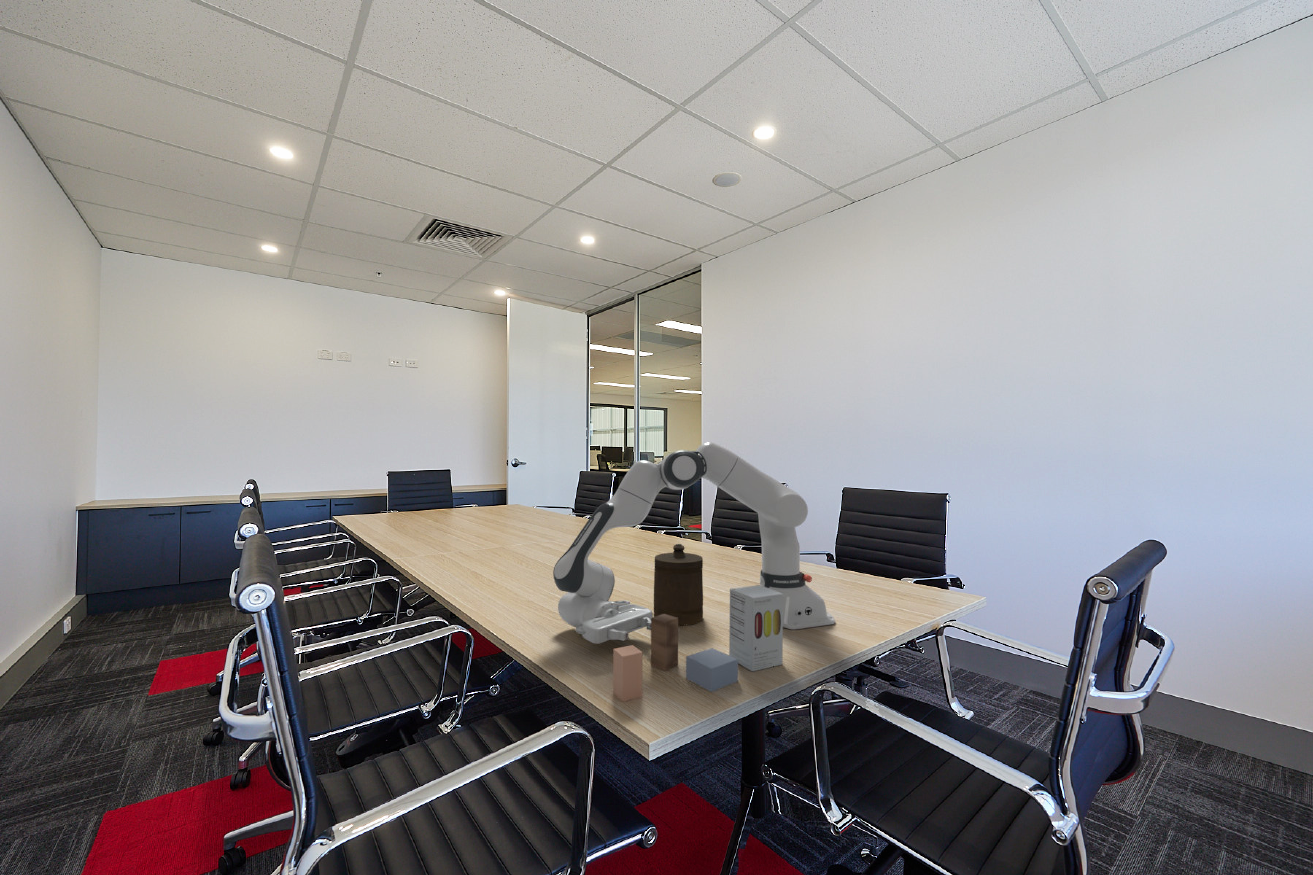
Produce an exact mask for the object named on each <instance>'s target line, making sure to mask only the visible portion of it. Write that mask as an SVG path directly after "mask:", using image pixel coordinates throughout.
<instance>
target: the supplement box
mask: <svg viewBox="0 0 1313 875" xmlns="http://www.w3.org/2000/svg"><path fill="white" fill-rule="evenodd" d="M783 628H784V627H783V594H782V593H780V592H778V591H775V590H772V589H769V588H766V587H764V586H761V585H760V584H756V585H750V586H743V587H735V588H730V589H729V637H728V638H729V639H728V640H729V646H728V648H729V649H728V650H729V651H728V653H729V654H728V655H729V656H732V657H734V658H736V659H738V665H741V666H743V668H745V669H747V670H749V671H750V672H757V671H761V670H764V669H768V668H774V667H778V666H782V665H783V662H784V661H783V655H784V653H783V651H784V650H783V643H784V641H783V639H784V636H783V635H784V633H783V632H784V629H783ZM773 666H774V667H773Z"/></svg>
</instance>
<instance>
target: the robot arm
mask: <svg viewBox="0 0 1313 875" xmlns="http://www.w3.org/2000/svg"><path fill="white" fill-rule="evenodd" d="M700 479H703V480H704V479H705V480H707V481H709V482H711V483H712V484H713V485H714V486H716V487H717V488H718V489H721V490H722V491H723V492H725V493H726V494H728V495H729V496H731V497H733V498H734V499H736V501H739V502H740V503H741V504H743V505H745V506H746V507H747V508H749V509H751V510H753V511H754V512H756V513H757V515H758V516H757V517H758V518H757V519H758V526H759V534H760V539H761V540H760V541H761V569H760V576H759V585H761V586H764V587H766V588H769V589H772V590H775V591H778V592H780V593H782V594H783V628H786V629H789V630H799V629H808V628H814V627H822V626H830V625H834V624H835V623H836V622H835V618H834V616H833V615H832V614H830V613H829V612H827V607H826V606H827V605H826V603H825V601H824V598H822V596H820V594H818V593H817V592H816V591H815V590H813V589H812V588H810V586H808V585H807V584H806V582H807V583H811V582H812V581H813V576H811V575H810V574H808V573H807V574H806V573H803V572H802V571H801V568H800V567H801V565H800V563H801V562H800V561H801V560H800V558H801V557H800V556H801V554H800V553H801V552H800V551H801V550H800V549H801V548H800V543H799V540H798V536H797V531H796V528H797V527H799V526H800V525H802V524H803V523H804V522H805V521H806V519H807V517H808V512H809V510H808V509H809V508H808V505H807V502H806V501H805V499H804V498H803V497H802V496H801V495H800V494H799V493H797V492H796V491H794V490H793V489H791V488H789V487H788V486H787V485H785V484H784V483H781V482H780V481H778V480H776V479H775V478H773V477H771V475H770V476H769V475H768V474H766V473H764V471H761V470H759V469H758V468H757V467H755V466H754V465H753V464H750V463H749V462H748V461H746V460H745V459H743V458H741V456H738V454H736V453H734V452H732V451H730V450H729V449H727V448H726V447H723V446H721V445H719V444H717V443H715V442H711V441H708V442H704V443H702V444H700V445H699V446H697V448H696V450H695V451H694V450H684V449H680V450H676V451H673V452H671V453H669V454H668V455H666V456H665V457H664V458H663V459H661V461H659V462H658V463H654V462H652V461H650V460H637V461H636V462H634V463H633V464H632V465H631V467H630V468H629V470H627V472H626V474H625V475H624V477H623V478H622V480H621V482H620V484H619V486H618V488H617V489H616V491H615V493H614V494H613V496H612V497H611V498H610V499H609V500H608V501H607V502H604V503H602V504H600V505H599V506H597V508H596V509H595V511H594V512H593V513H592V514H591V516H590V517H589V519H588V520H587V521H586V523H585V524H584V526H583V528H581V530H580V531H579V533H578V535H577V536H576V538H575V539H574V541H573V542H572V544H571V545H570V547H568V549H567V550H566V551H565V552H564V553H563V554H562V555H561V556H560V557H559V559H558V560H557V562H556V563H555V564H554V567H553V571H552V572H553V573H552V574H553V575H552V576H553V580H554V581H553V582H554V583H555V586H556V588H557V589H558V590H560V591H561V592H565V594H564V595H563V594H562V596H561V597H560V598H559V601H558V604H557V612H558V615H559V616H560V618H561V619H562V621H564V622H565V623H566V624H567V625H569V626H571V627H574V628H575V632H576V633H577V634H581V635H582V636H581V637H582V638H583V639H585V640H586V641H588V642H590V643H592V644H595V645H597V644H602V643H605V642H608V641H610V640H616V641H617V640H620V641H623V642H624V641H626V640H629V634H630V633H633V632H635V631H637V630H641V629H644V628H646V630H647V631H650V632H651V618H653V617H654V612H653V611H652V609H650V608H647V607H645V606H642V605H639V604H634V603H633V604H632V603H631V601H629V600H626V599H624V600H616V601H613V600H610V598H611V596H612V594H613V592H614V587H615V584H616V583H615V582H616V580H615V575H614V571H613V570H612V568H610V567H609V566H606V565H604V564H602V563H599V562H596V561H593V560H591V559H589V557H590V555H591V554H592V552H593V551H594V549H595V547H596V546H597V545H598V543H599V541H600V540H601V538H602V537H603V535H604V534H606V533H607V532H608V531H611V530H612V529H616V528H617V529H618V528H631V527H634V526H637V525H639V524H642V523H643V521H644V520H645V519H646V517H647V516H648V515H649V513H650V511H651V509H652V506H653V504H654V501H655V500H656V498H657V495H658V494H659V493H660V491H662V489H664V490H669V491H682V490H685V489H687V488H689V487H691V486H692V485H694V484H696V483H697V482H698V481H699V480H700Z"/></svg>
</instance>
